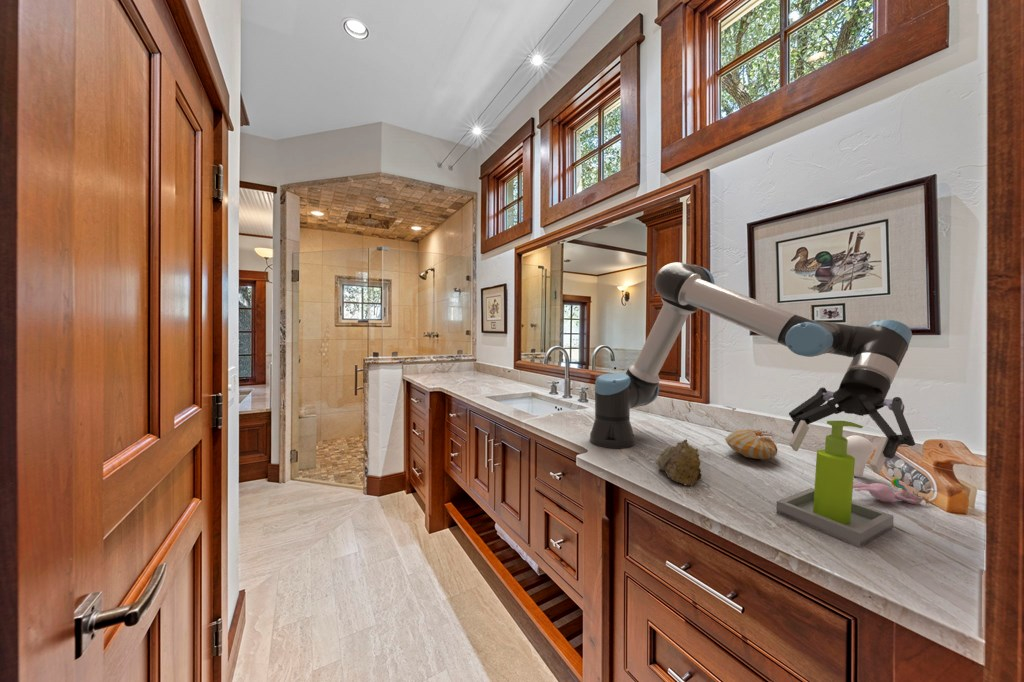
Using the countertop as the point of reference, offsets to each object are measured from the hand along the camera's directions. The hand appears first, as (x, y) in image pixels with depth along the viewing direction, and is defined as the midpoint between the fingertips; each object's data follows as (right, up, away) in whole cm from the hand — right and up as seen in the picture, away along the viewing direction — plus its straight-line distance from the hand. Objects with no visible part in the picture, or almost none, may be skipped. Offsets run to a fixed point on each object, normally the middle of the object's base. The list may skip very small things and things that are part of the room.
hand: (830, 457), depth 75 cm
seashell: (-20, -13, +25) cm, 35 cm away
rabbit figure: (+21, -13, +9) cm, 27 cm away
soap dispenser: (+2, -13, +1) cm, 13 cm away
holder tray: (+2, -14, +2) cm, 14 cm away
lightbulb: (+27, -13, +23) cm, 37 cm away
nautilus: (+11, -12, +39) cm, 43 cm away
